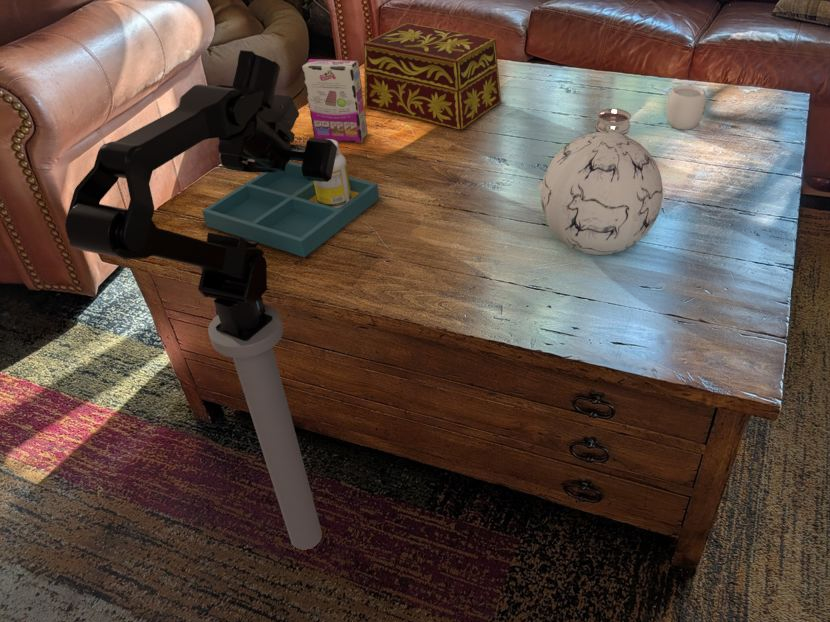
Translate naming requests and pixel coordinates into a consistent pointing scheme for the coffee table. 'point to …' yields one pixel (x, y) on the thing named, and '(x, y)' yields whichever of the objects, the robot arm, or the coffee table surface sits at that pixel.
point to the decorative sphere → (602, 193)
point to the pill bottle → (335, 184)
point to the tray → (286, 211)
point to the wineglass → (613, 121)
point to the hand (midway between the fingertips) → (300, 172)
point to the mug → (685, 106)
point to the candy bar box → (335, 99)
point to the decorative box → (432, 75)
